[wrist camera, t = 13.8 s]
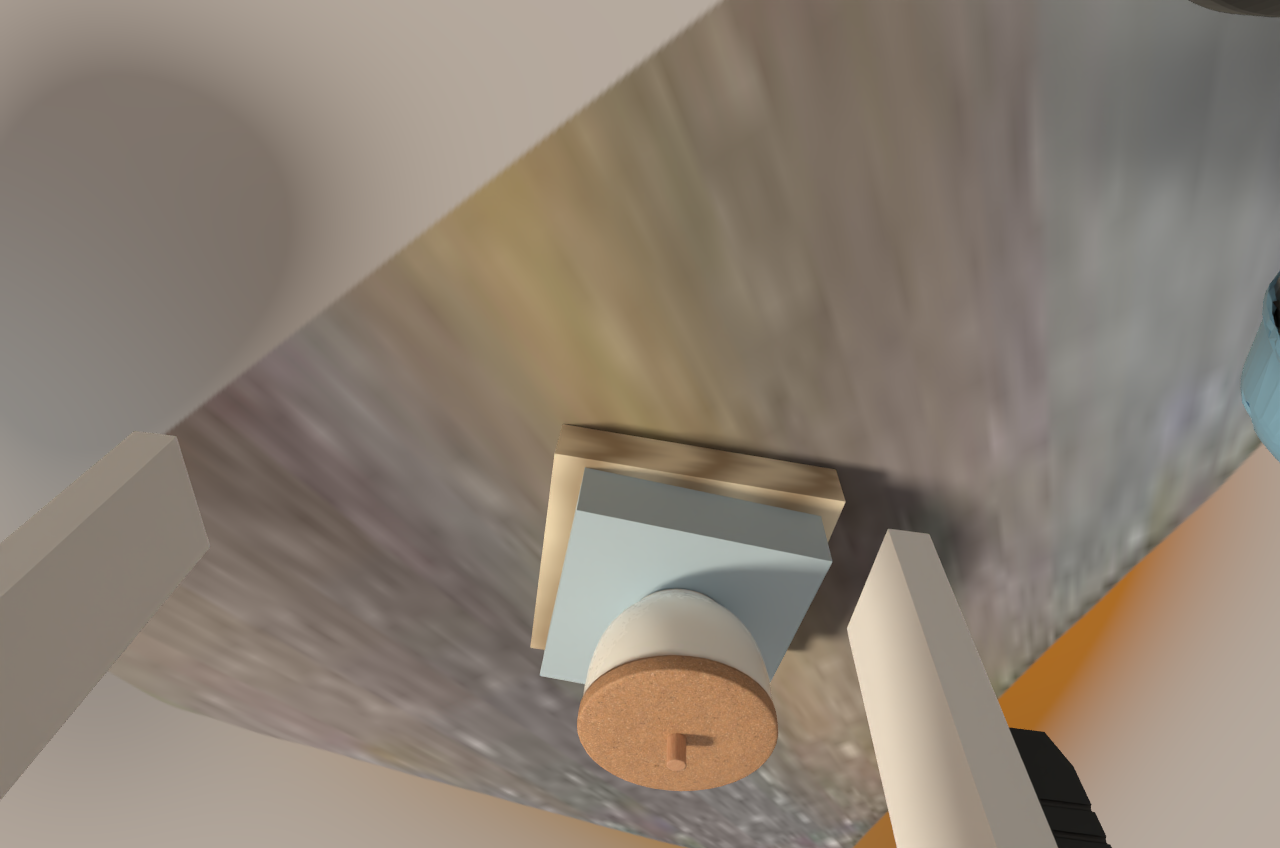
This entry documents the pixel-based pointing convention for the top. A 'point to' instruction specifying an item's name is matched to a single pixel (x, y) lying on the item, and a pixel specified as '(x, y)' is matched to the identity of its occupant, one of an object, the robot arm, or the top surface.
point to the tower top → (681, 564)
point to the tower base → (674, 467)
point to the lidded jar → (678, 696)
